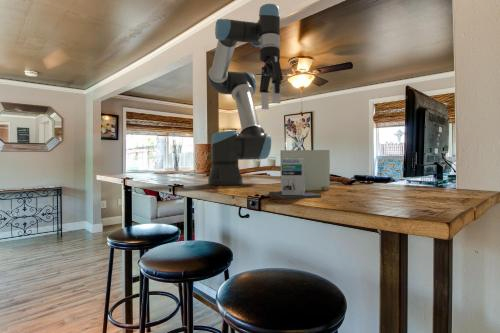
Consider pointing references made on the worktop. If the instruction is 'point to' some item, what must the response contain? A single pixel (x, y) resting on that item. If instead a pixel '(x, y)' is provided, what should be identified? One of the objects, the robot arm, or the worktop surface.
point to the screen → (312, 167)
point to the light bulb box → (293, 176)
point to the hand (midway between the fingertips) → (270, 106)
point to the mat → (307, 195)
